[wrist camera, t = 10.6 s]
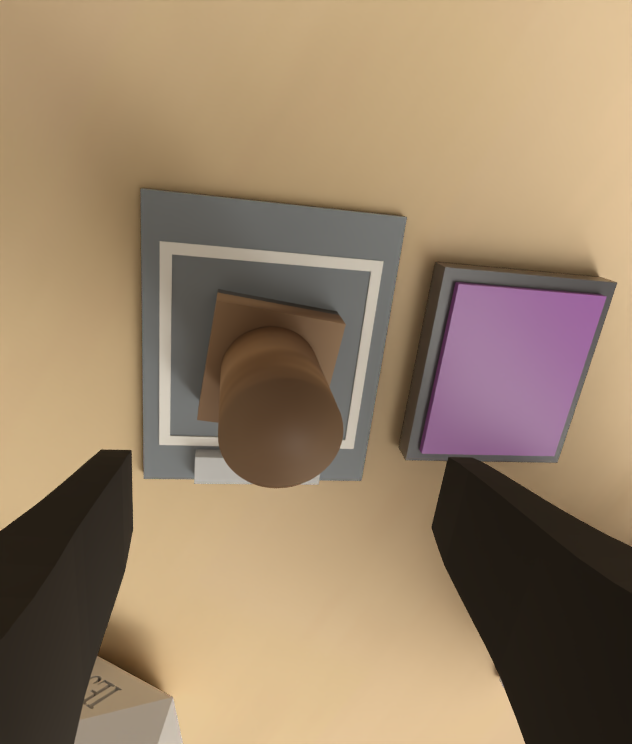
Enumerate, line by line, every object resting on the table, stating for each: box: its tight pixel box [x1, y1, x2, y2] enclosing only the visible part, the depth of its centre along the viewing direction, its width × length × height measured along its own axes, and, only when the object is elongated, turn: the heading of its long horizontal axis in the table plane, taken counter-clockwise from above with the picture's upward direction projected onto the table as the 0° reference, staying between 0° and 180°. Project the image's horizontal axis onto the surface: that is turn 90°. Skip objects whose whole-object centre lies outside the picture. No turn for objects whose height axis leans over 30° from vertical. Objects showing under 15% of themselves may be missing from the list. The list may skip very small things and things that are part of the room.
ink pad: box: [399, 262, 617, 463], centre depth 21 cm, size 7×8×1 cm
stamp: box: [197, 289, 346, 488], centre depth 17 cm, size 4×4×6 cm
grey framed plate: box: [141, 188, 407, 485], centre depth 19 cm, size 9×11×1 cm
